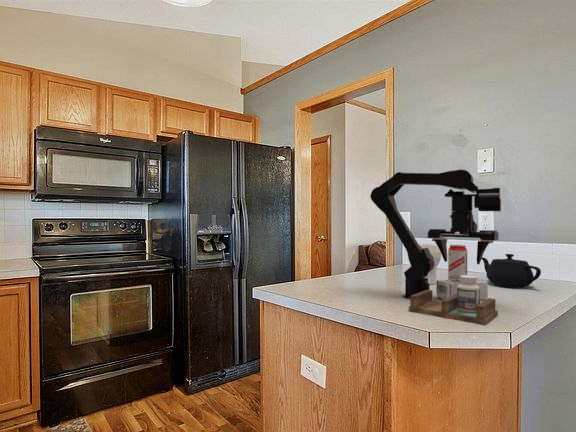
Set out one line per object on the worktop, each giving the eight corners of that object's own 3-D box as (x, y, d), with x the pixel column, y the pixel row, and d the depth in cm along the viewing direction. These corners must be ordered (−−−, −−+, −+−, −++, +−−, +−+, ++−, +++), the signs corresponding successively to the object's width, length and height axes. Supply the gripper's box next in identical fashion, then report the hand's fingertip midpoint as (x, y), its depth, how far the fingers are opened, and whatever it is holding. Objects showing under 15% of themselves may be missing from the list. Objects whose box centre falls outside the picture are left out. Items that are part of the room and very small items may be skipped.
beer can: (466, 292, 124) (466, 246, 124) (446, 290, 127) (446, 245, 127) (468, 289, 129) (468, 245, 129) (449, 287, 133) (449, 244, 133)
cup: (444, 285, 137) (444, 246, 137) (415, 284, 139) (415, 245, 139) (437, 280, 148) (437, 244, 148) (410, 279, 150) (410, 243, 150)
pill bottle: (465, 307, 97) (465, 274, 97) (483, 311, 93) (484, 276, 93) (452, 309, 94) (452, 275, 95) (471, 313, 90) (471, 278, 90)
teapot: (554, 290, 131) (554, 256, 131) (525, 292, 125) (525, 257, 125) (493, 279, 154) (493, 250, 154) (466, 281, 148) (466, 251, 148)
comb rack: (408, 310, 98) (408, 295, 98) (425, 303, 107) (425, 289, 107) (486, 325, 85) (486, 307, 85) (497, 315, 94) (497, 299, 94)
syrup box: (488, 281, 113) (447, 281, 110) (488, 300, 113) (447, 301, 110) (475, 278, 119) (436, 279, 116) (475, 296, 118) (436, 297, 115)
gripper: (502, 211, 109) (502, 263, 109) (439, 212, 121) (439, 258, 121) (494, 211, 100) (493, 266, 100) (427, 211, 113) (426, 261, 113)
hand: (461, 262), depth 109 cm, fingers open, 9 cm apart
